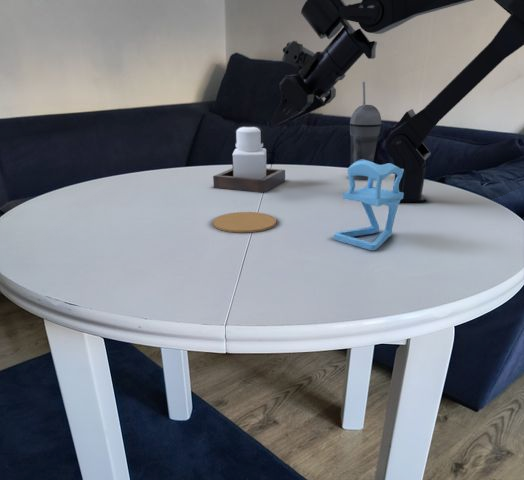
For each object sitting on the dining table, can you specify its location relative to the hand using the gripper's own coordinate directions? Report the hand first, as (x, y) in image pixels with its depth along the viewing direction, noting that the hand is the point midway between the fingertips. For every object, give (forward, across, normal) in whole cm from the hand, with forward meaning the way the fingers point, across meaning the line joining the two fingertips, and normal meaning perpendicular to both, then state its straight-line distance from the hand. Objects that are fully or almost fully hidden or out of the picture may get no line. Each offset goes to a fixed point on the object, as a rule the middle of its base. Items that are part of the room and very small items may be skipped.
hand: (281, 121), depth 100 cm
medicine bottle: (+15, 0, +4) cm, 15 cm away
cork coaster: (+6, +28, +13) cm, 31 cm away
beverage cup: (0, -16, +19) cm, 25 cm away
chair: (-9, +28, +28) cm, 41 cm away
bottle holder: (+15, 0, +4) cm, 15 cm away
